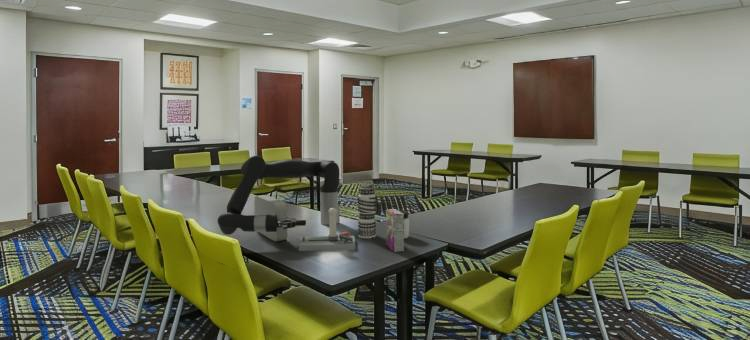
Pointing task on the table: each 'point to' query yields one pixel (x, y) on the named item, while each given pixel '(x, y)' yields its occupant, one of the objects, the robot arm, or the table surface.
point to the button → (346, 233)
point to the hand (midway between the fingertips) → (305, 222)
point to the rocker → (345, 237)
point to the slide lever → (332, 224)
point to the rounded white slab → (272, 207)
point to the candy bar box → (395, 230)
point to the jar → (405, 223)
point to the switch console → (325, 244)
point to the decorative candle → (366, 211)
